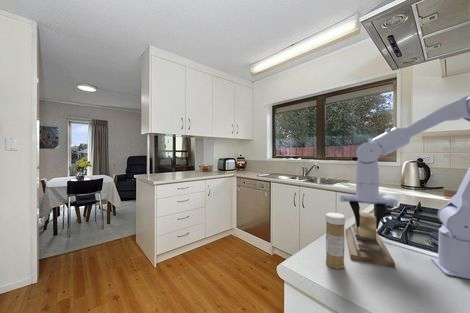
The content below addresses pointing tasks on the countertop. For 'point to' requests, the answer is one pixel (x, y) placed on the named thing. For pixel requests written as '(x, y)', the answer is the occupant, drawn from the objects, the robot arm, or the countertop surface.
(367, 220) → the block
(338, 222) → the sprinkles bottle
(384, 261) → the rail board
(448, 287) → the countertop surface
